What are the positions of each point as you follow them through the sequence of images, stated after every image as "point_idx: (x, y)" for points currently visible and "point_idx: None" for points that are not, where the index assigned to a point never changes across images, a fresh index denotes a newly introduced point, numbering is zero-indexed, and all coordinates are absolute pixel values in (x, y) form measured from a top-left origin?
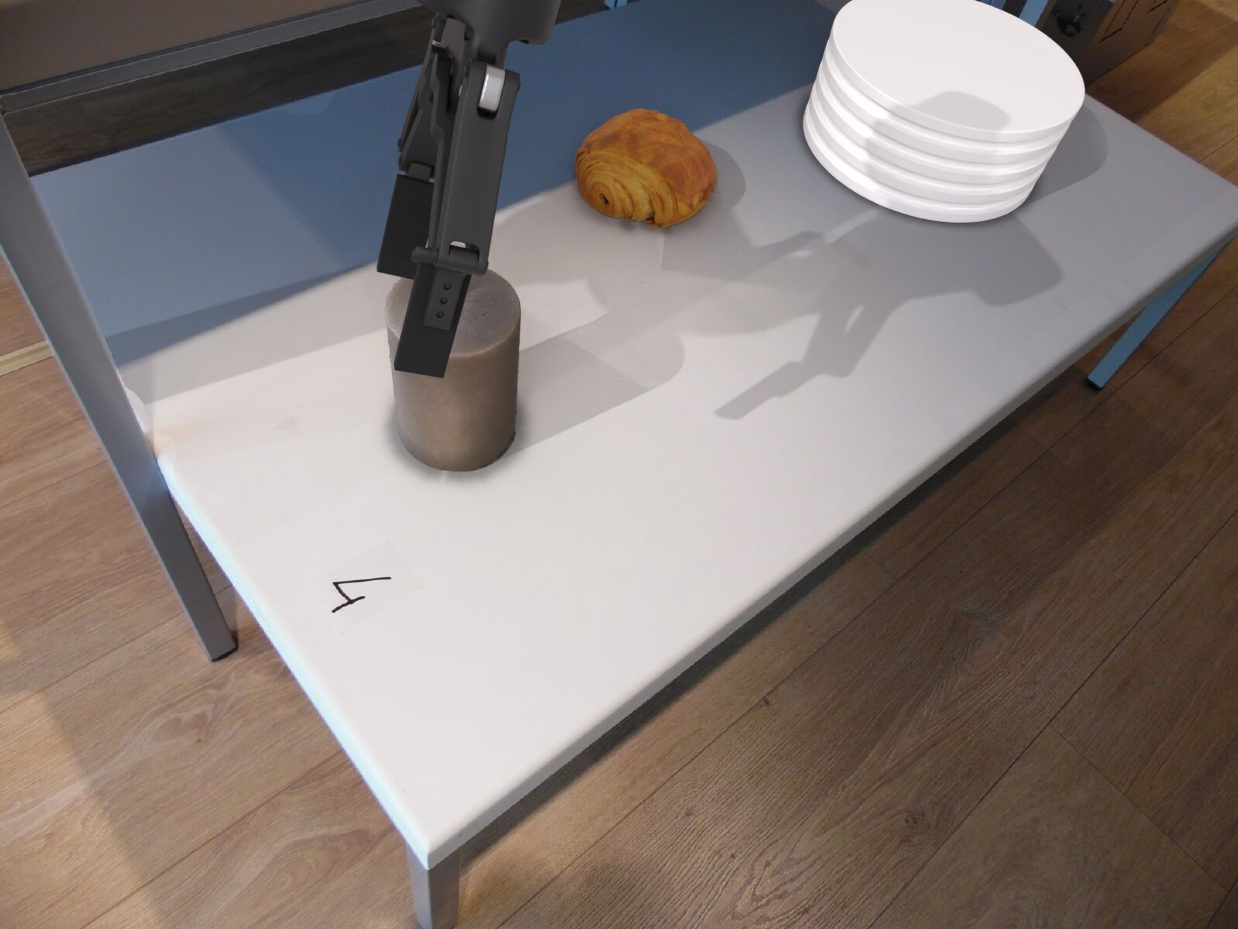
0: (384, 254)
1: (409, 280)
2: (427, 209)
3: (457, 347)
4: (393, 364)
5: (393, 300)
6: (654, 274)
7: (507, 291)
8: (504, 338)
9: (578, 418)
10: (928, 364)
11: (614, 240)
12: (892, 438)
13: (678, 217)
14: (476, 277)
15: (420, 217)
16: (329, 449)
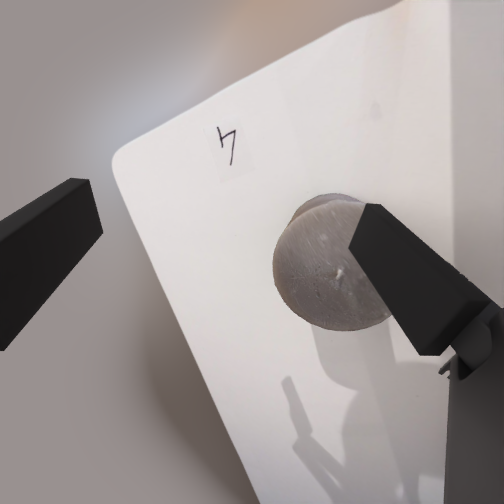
0: (376, 219)
1: None
2: (400, 310)
3: (283, 257)
4: (332, 198)
5: None
6: (422, 407)
7: (342, 324)
8: (284, 299)
9: None
10: (286, 484)
11: None
12: (247, 438)
13: None
14: (373, 305)
15: (394, 292)
16: (339, 141)
